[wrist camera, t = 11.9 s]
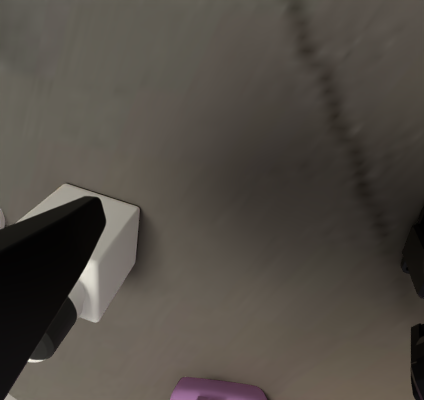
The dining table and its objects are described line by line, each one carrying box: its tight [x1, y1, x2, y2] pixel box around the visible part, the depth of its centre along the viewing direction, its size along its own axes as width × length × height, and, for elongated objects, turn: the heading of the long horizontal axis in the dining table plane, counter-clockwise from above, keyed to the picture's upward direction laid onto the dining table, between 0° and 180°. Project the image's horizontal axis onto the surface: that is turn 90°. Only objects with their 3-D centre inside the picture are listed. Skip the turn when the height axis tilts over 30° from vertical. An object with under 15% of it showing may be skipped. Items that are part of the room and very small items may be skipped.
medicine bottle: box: [14, 184, 140, 362], centre depth 24 cm, size 7×7×12 cm
